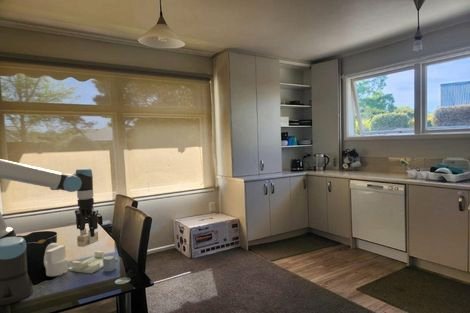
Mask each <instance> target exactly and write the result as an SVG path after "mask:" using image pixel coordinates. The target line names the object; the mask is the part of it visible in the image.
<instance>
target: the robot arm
mask: <svg viewBox="0 0 470 313" xmlns="http://www.w3.org/2000/svg"><path fill="white" fill-rule="evenodd" d="M0 179H2V180H8V181H11V182H19V183H22V184H23V183H24V184H29V185H33V186H40V187H45V188H49V189H50V190H51V191H65V192H69V193H73V192H74V193H75V192H76V195H77V196H76V197H77V206H78V209H75V210H74V213H75V220H76V221H75V223H76V229H77V230H79V231H80V235H83V234H86V233H88V234H89V245H91V243H92V244H94V243H95V242H94V236H95V233H94V231H95V230H98V227H99V226H98V224H99V223H98V221H99V220H98V214H99V210H98V209H94V205H95V199H94V186H93V185H94V182H93V180H94V177H93V170H92V169H91V168H77V169H76V170H75V172H73V173H62V172H60V171H55V170H51V169H46V168H42V167H39V166H38V167H37V166H32V165H30V164H24V163H19V162H14V161H11V160H6V159H2V158H0ZM86 222H87V224H88V227H89V230H88V232H87V227H86ZM93 242H94V243H93ZM27 247H28V246H27V242H26V240H25V238H24V237H21V236H17V234H16V231H15V230H14V228H13V227H11V226H8V225H7V223H6V221H5V219H4V216H3V215H2V213H1V212H0V306H4V305H10V304H13V303H17V302H20V301H22V300H24V299H26V298H28V297H30V296H31V295H32V294H33V293H34V285H33V282H32V280H31V278H30V276H29V275H28V260H27V259H28V258H27V257H28V256H27Z"/></svg>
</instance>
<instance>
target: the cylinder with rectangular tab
mask: <svg viewBox="0 0 470 313" xmlns="http://www.w3.org/2000/svg"><path fill="white" fill-rule="evenodd" d="M45 251H46V250H45ZM46 260H47V261H46V268H45V274H46V276H47V277H57V276H61V275H64V274H66V273H67V272H68V258H67V256H66V246H65V245H63V244H62V245H61V244H60V245H59V246H57V247H55V248H52V249H50V250H47V251H46ZM63 273H64V274H63Z"/></svg>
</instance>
